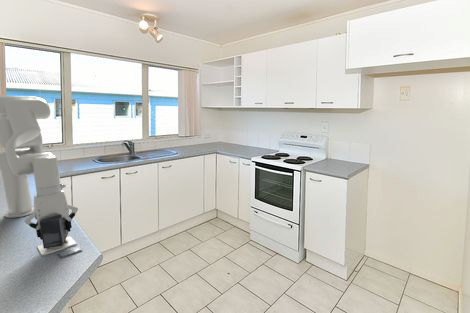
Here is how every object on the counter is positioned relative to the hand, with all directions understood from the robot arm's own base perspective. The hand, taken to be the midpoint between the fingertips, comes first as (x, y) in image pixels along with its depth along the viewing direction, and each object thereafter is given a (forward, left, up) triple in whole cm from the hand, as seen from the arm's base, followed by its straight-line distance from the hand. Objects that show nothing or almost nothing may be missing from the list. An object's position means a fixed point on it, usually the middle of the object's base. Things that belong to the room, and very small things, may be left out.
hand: (55, 234), depth 103 cm
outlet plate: (0, 0, -5) cm, 5 cm away
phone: (+9, +2, -5) cm, 11 cm away
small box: (0, 0, -3) cm, 3 cm away
